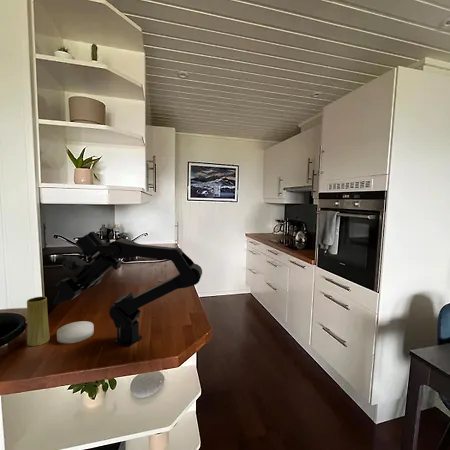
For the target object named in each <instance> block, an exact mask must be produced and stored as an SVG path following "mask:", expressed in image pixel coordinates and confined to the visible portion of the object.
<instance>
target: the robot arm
mask: <svg viewBox="0 0 450 450" xmlns="http://www.w3.org/2000/svg"><path fill="white" fill-rule="evenodd" d="M74 245H75V246H76V247H77V248H78V249H79V250H80V251H81V252H82V253H83V255H84V256H85V257H86V258H90V257H91V258H93V259H92V260H91V261H90V262H89V263H88V262H86V261H85V260H84V259H81V258H79V257H77V256H75V255H71V256H69V257H67V258H66V259H64V261H62V263H61V264H62V268H63V269H64V270H66V271H69V272H71V273H73V274H72V276H73V277H74V278H75V280H76V282H75V281H74V280H73V279H72V278H71V277H66V278H64V279H61V280H59V281H58V282H57V283H56V284H55V288H57V290H58V292H57V295H56V296H55V298H54V300H52V304H53V305H58V304H63V303H64V302H65V303H66V302H68V301H71V300H73V299H75V298H76V297H77V296H79V295H80V294H81V293H82V292H83V291H85V290H89V289H91V288H93V287H95V286H96V285H97V284H99V283H100V282H101V281H102V280H103V277H104V275H106V274H107V272H108V271H109V270H111V268H112V269H114V270H115V271H116V270H119V269H120V268H122V267H121V266H122V264H121V262H122V260H121V259H129V258H130V259H131V258H142V259H143V258H145V259H152V260H154V259H155V260H163V261H164V260H165V261H171V262H172V263H173V265H174V267H175V268H176V270H177V272H178V273H177V274H176V275H174V276H173V277H171V278H169V279H167V280H165V281H163V282H161V283H158V284H157V285H154V286H153V287H151V288H149V289H147V290H145V291H143V292H141V293H139V294H133V291H130V292H129V293H127V294H126V295H121V296H120V297H119V298H118V299H117V300H115V301H114V302H113V305H112V306H111V307H110V309H109V312H108V313H109V317H110V319H111V320H112V321H113V324H114V327H115V328H116V337H117V338H116V339H114V341H113V343H114V344H118V345H122V346H124V347H125V346H126V347H130V346H132V345H133V344H135V343H137V342H138V341H140V340H142V339H143V336H142V335H140V332H139V331H140V328H139V327H140V323H139V321H138V319H139V318H140V317H141V313H142V311H141V310H140V308H142V307H144V306H146V305H148V304H150V303H152V302H154V301H156V300H158V299H160V298H162V297H164V296H166V295H168V294H170V293H172V292H174V291H176V290H180V289H186V288H190V287H193V286H196V285H197V284H199V282H200V281H201V278H202V275H203V268H202V267H201V266H200V265H199V264H196V263H195V262H194V260H192V259H191V258H190V257H189V256H188V255H187V254H186V253H185V252H184V251H183V250H182V248H180V247H176V246H175V247H170V246H161V245H160V246H159V245H150V244H141V243H137V242H135V241H134V240H130V239H125V238H119V239H117V240H113V241H111V242H103V241H102V239H101V238H100V237H99V236H98V235H97V233H96V232H95V231H90V232H88V233H87V234H85V235H83V236H82V237H80V238H79V239H77V240H76V241H75V243H74ZM94 257H95V258H94Z"/></svg>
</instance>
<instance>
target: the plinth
mask: <svg viewBox="0 0 450 450" xmlns="http://www.w3.org/2000/svg"><path fill="white" fill-rule="evenodd" d="M94 327H95V326H94V323H93V322H91V321H85V320H84V321H83V320H82V321H73V322H70V323H67V324H65V325H62V326H60V328H58V329H57V330H56V340H57V342H58V343H59V344H74V343H79V342H82V341H85V340H87V339H89V338H91V336H93V335H94V332H95V330H94V329H95V328H94Z"/></svg>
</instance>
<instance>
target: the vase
mask: <svg viewBox="0 0 450 450" xmlns="http://www.w3.org/2000/svg"><path fill="white" fill-rule="evenodd" d="M26 313H27V320H26V321H27V334H26V335H27V339H26V340H27V342H26V344H27V346H30V347H38V346H40V345H44V344H46V343H48V342H49V341H50V340H51V338H50V337H51V336H50V329H49V327H50V326H49V315H48V298H47V296H35V297H31V298H28V299H27V300H26Z"/></svg>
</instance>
